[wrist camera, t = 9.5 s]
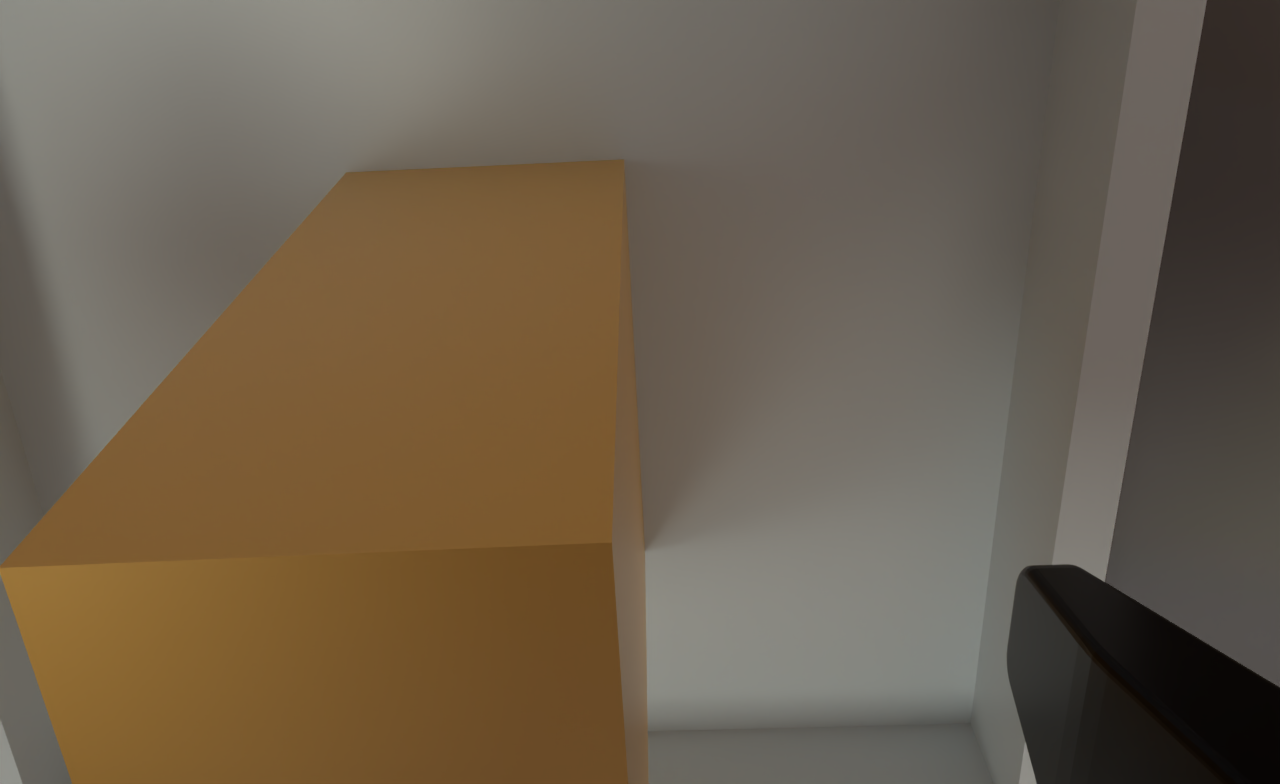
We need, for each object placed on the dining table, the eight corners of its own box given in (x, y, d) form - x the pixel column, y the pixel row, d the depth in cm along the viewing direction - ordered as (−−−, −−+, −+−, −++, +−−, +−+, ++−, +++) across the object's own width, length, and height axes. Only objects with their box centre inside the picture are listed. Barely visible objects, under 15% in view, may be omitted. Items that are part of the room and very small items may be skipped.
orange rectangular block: (408, 561, 15) (210, 1187, 8) (346, 172, 12) (-2, 568, 6) (644, 551, 14) (654, 1172, 8) (624, 159, 12) (613, 542, 6)
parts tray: (95, 748, 17) (11, 890, 14) (-184, -179, 11) (-384, -184, 9) (997, 726, 16) (1054, 865, 14) (1126, -220, 11) (1248, -236, 9)
